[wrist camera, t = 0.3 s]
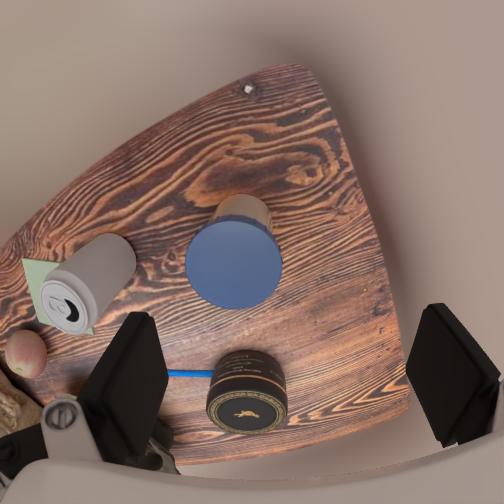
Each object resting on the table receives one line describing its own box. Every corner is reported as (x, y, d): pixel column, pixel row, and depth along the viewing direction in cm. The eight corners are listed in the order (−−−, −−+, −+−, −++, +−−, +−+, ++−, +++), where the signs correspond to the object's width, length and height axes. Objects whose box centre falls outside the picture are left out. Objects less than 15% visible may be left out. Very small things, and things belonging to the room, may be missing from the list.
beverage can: (136, 286, 35) (92, 348, 23) (91, 271, 34) (39, 324, 23) (142, 238, 32) (90, 290, 21) (94, 224, 32) (32, 267, 21)
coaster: (23, 257, 34) (21, 258, 33) (79, 264, 34) (78, 265, 33) (40, 321, 38) (39, 322, 38) (94, 333, 38) (93, 335, 38)
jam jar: (213, 192, 30) (190, 220, 20) (274, 196, 30) (281, 226, 20) (211, 249, 32) (191, 298, 23) (269, 253, 32) (272, 305, 23)
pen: (131, 366, 40) (129, 371, 39) (259, 368, 39) (259, 373, 38) (133, 371, 40) (131, 375, 39) (260, 372, 39) (260, 378, 38)
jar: (200, 355, 38) (189, 397, 31) (271, 337, 37) (272, 380, 30) (230, 400, 42) (226, 441, 35) (294, 386, 40) (298, 427, 33)
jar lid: (188, 210, 21) (183, 217, 20) (286, 217, 21) (288, 224, 20) (190, 294, 24) (185, 305, 22) (276, 301, 24) (277, 313, 22)
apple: (31, 353, 41) (10, 380, 34) (15, 318, 38) (-10, 345, 31) (61, 360, 41) (40, 391, 34) (45, 323, 38) (19, 353, 31)
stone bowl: (216, 442, 46) (208, 484, 38) (129, 448, 53) (117, 480, 45) (120, 354, 38) (94, 402, 30) (48, 378, 45) (27, 410, 37)
